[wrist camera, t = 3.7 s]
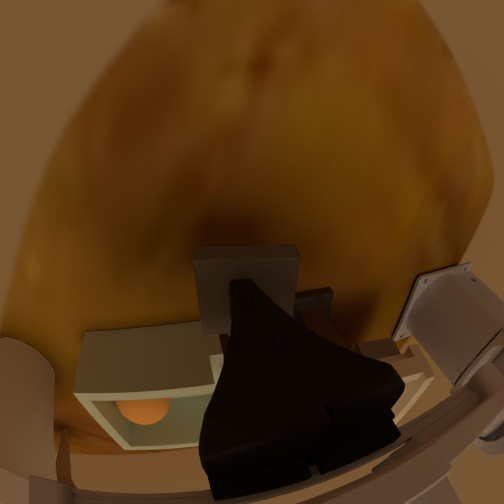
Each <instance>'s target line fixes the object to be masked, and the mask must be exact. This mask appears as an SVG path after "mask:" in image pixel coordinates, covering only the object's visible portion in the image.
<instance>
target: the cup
mask: <svg viewBox="0 0 504 504" xmlns="http://www.w3.org/2000/svg"><path fill="white" fill-rule="evenodd" d="M223 363H224V358H223V351H222V347H221V343H220V339H219V334H203V331H202V324H201V321H194V322H186V323H178V324H169V325H160V326H151V327H140V328H130V329H118V330H105V331H90V332H85V334H84V339H83V343H82V347H81V352H80V357H79V362H78V367H77V372H76V378H75V383H74V390H73V394H74V395H75V396H76V398H77V399H78V400H79V401H80V402H81V404H82V405H83V406H84V407H85V408H86V410H87V411H88V412H89V413H90V414H91V415H92V416H93V418H94V419H95V420H96V421H97V422H98V423H99V424H100V425H101V426H102V428H103V429H104V430H105V431H106V432H107V433H108V434H109V435H110V436H111V437H112V438H113V439H114V440H115V441H116V442H117V443H118V444H119V445H120V446H121V447H122V448H123V449H124V450H151V449H170V448H182V447H192V446H199V437H200V432H201V427H202V422H203V417H204V413H205V411H206V408H207V406H208V404H209V402H210V400H211V397H212V395H213V392H214V390H215V387H216V384H217V382H218V379H219V376H220V373H221V370H222V367H223ZM167 397H170V407H169V410H168V412H167V414H166V415H165V416H164V417H163V418H162V419H161V420H160V421H158V422H156V423H154V424H149V425H141V424H137V423H134V422H132V421H130V420H128V419H127V418H126V417H124V416H123V415H122V413H121V412H120V411H119V409H118V407H117V405H116V402H115V400H140V399H155V398H167Z"/></svg>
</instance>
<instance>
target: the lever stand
mask: <svg viewBox="0 0 504 504" xmlns="http://www.w3.org/2000/svg"><path fill="white" fill-rule="evenodd" d="M333 294H334V292H333V290H332V289H331V288H330V287H328V288H323V289H318V290H312V291H306V292H301V293H295V299H294V306H293V313H292V317H293V318H294V319H296V320H297V321H298V322H300V323H301V324H302V325H304V326H305V327H307V328H308V329H310V330H312V331H313V332H315V333H316V334H318V335H320V336H322V337H323V338H325V339H327V340H329V341H331V342H333V343H335V344H337V345H339V346H341V347H344V348H346V349H348V348H347V346H346V344H345V343H344V341H343V340H342V338H341V337H340V335H339V334H338V332H337V331H336V329H335V327H334V326H333V324H332V323H331V321H330V320H329V318H328V315H329V311H330V307H331V303H332V299H333ZM348 350H349V349H348Z"/></svg>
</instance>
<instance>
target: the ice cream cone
mask: <svg viewBox="0 0 504 504" xmlns="http://www.w3.org/2000/svg"><path fill="white" fill-rule="evenodd" d="M70 466H71V465H70V451H69V431H68V429H67V428H64V429H63V432H62V436H61V441H60V445H59V450H58V455H57V459H56V474H57V481H59V482H62V483H64V484H66V485H68V486H69V487H70V488H75V489H78V488H77V487H76V486H75V484H74V483H73V481H72V480H71V467H70Z"/></svg>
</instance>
